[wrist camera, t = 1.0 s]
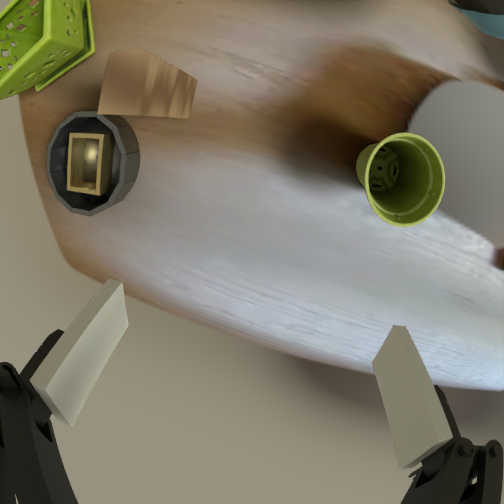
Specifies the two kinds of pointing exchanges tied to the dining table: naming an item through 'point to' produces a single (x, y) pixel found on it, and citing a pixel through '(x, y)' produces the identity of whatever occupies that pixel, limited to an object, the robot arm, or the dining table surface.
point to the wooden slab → (145, 86)
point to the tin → (92, 161)
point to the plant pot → (402, 178)
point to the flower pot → (43, 42)
